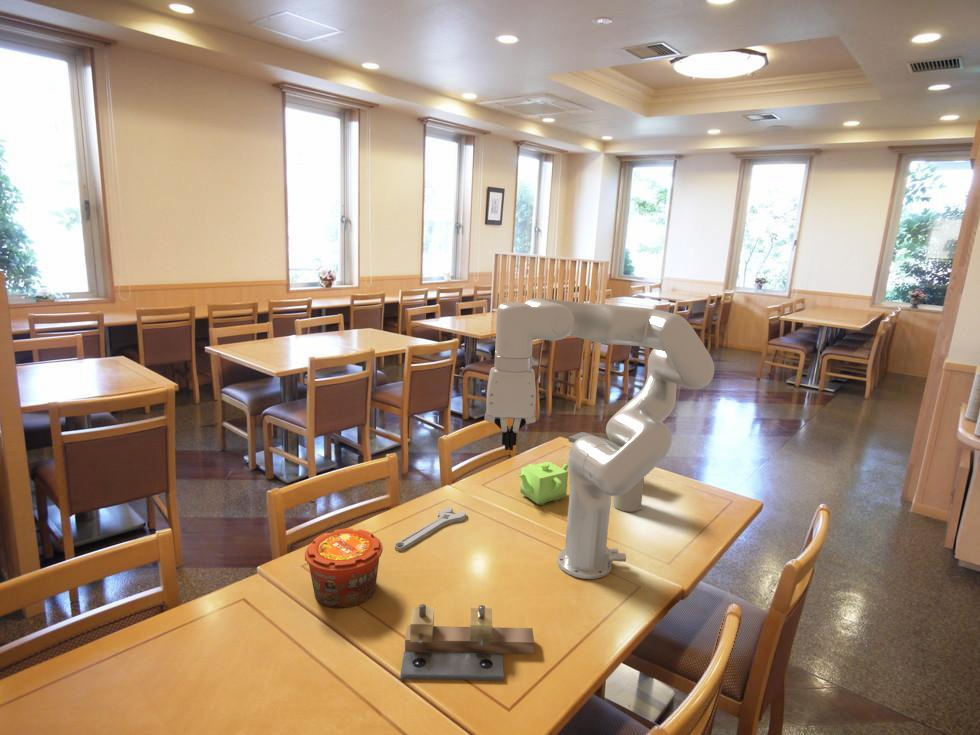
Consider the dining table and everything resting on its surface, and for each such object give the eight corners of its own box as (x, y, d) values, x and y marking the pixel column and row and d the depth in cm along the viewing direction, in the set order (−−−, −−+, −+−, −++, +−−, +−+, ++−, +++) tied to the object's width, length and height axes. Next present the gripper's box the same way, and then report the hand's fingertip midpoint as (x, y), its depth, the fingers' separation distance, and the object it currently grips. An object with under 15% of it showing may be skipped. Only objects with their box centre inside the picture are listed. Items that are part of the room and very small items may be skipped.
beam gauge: (531, 637, 115) (533, 600, 113) (535, 664, 108) (537, 625, 106) (407, 635, 114) (408, 597, 112) (403, 662, 107) (403, 622, 105)
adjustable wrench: (400, 554, 142) (400, 548, 142) (382, 545, 146) (382, 538, 146) (469, 518, 161) (469, 512, 161) (452, 510, 165) (452, 504, 165)
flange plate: (501, 658, 109) (502, 653, 109) (503, 680, 104) (503, 675, 103) (404, 656, 108) (404, 651, 108) (400, 678, 103) (400, 673, 103)
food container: (290, 601, 123) (288, 555, 120) (336, 562, 137) (335, 520, 135) (355, 622, 117) (354, 574, 115) (396, 579, 132) (396, 536, 129)
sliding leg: (491, 624, 114) (492, 599, 113) (492, 650, 107) (493, 624, 105) (470, 623, 114) (471, 598, 112) (469, 650, 107) (470, 623, 105)
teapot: (569, 491, 180) (571, 458, 177) (568, 511, 167) (571, 476, 164) (519, 485, 182) (521, 453, 179) (514, 505, 169) (516, 471, 166)
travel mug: (644, 505, 172) (650, 447, 168) (635, 515, 166) (641, 455, 162) (618, 497, 177) (624, 441, 172) (608, 507, 170) (614, 448, 166)
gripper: (547, 360, 124) (541, 442, 128) (476, 358, 124) (473, 440, 128) (551, 369, 117) (545, 455, 121) (476, 366, 116) (473, 453, 121)
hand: (508, 447), depth 125 cm, fingers closed
